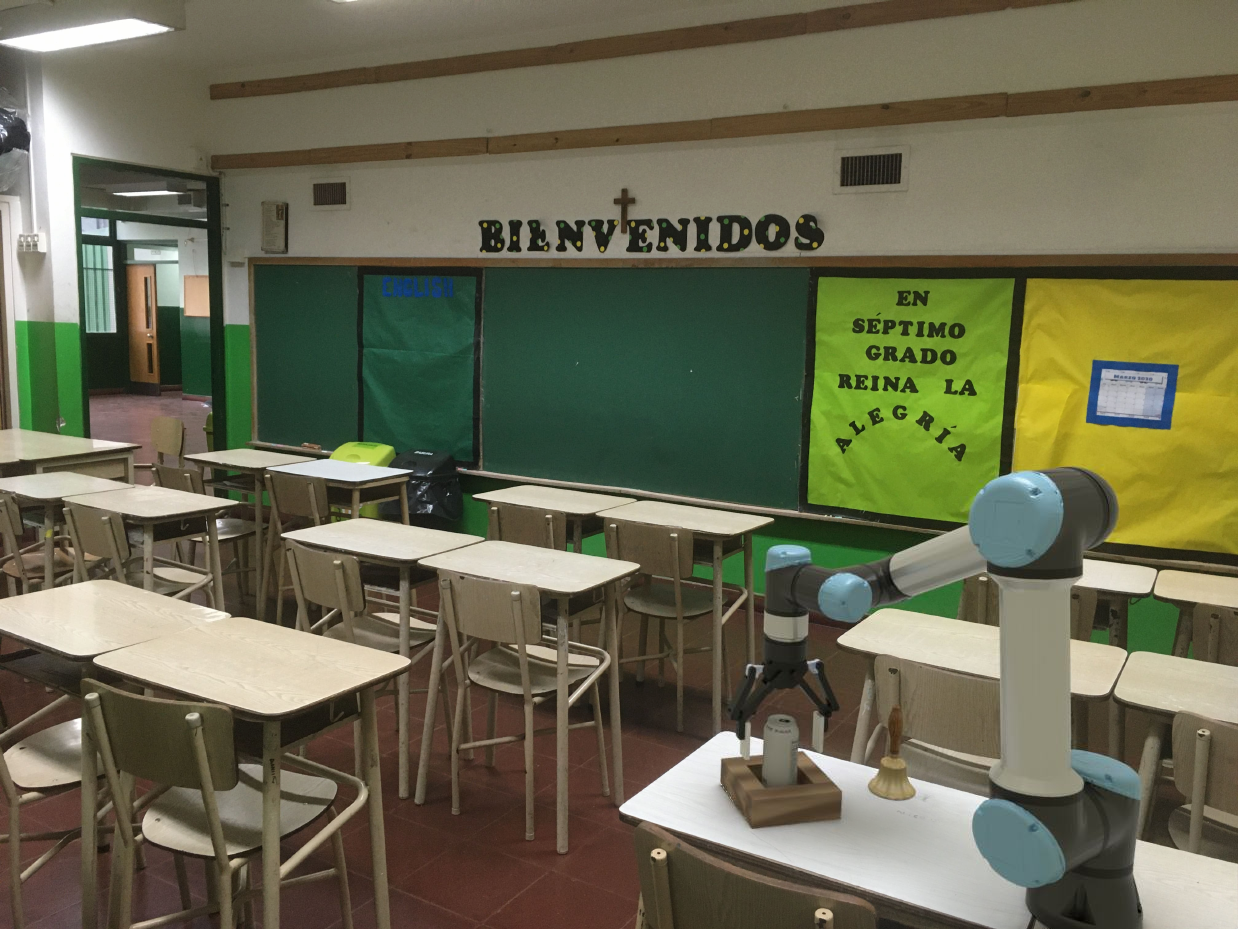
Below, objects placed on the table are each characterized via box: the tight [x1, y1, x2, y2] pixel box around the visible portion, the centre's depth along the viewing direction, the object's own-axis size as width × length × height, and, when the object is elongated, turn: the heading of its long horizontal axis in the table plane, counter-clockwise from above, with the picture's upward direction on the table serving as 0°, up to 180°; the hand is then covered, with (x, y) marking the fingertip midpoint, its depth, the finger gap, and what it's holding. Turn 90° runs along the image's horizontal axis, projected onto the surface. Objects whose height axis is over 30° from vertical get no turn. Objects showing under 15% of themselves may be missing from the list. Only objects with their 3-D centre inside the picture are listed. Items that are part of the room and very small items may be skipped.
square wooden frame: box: [719, 750, 843, 829], centre depth 170 cm, size 16×16×5 cm
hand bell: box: [867, 704, 917, 801], centre depth 175 cm, size 8×8×16 cm
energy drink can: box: [762, 714, 800, 788], centre depth 170 cm, size 6×6×15 cm
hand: (781, 753), depth 169 cm, fingers open, 13 cm apart
